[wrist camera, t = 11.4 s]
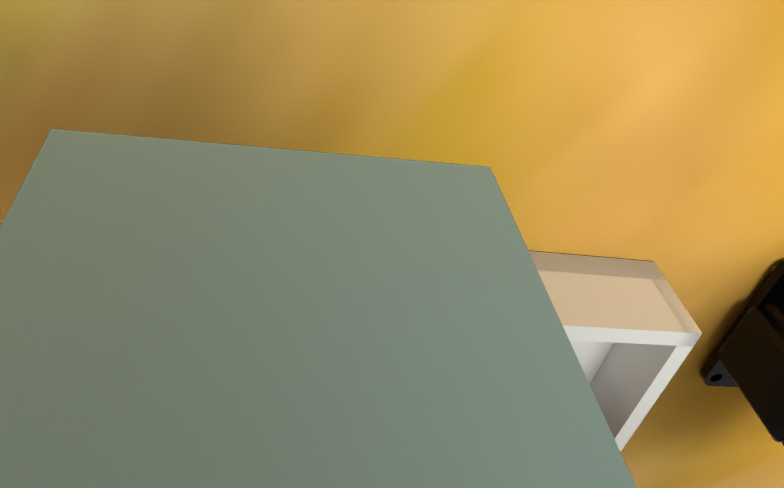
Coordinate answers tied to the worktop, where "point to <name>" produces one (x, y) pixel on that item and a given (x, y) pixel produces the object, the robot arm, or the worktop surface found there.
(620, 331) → the tray
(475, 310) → the teal block
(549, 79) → the worktop surface
